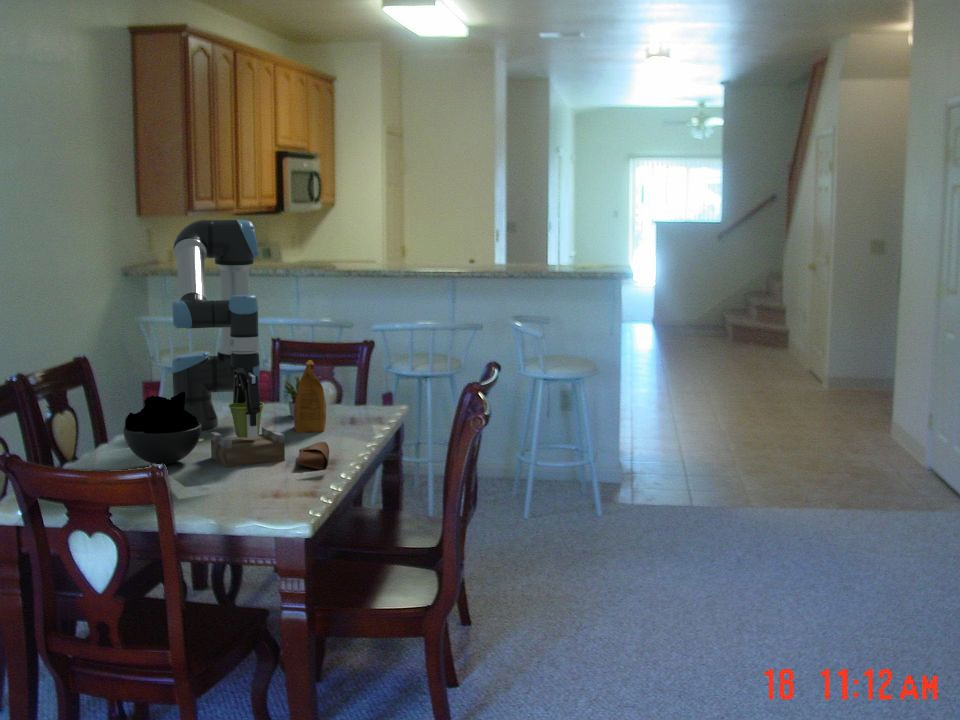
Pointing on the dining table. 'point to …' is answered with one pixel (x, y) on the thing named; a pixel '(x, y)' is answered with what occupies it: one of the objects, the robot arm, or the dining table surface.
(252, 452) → the raised riser
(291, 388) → the house plant
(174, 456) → the coal bowl
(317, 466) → the sunglasses case
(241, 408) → the plant pot
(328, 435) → the dining table surface
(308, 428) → the brown tall tapered bottle
